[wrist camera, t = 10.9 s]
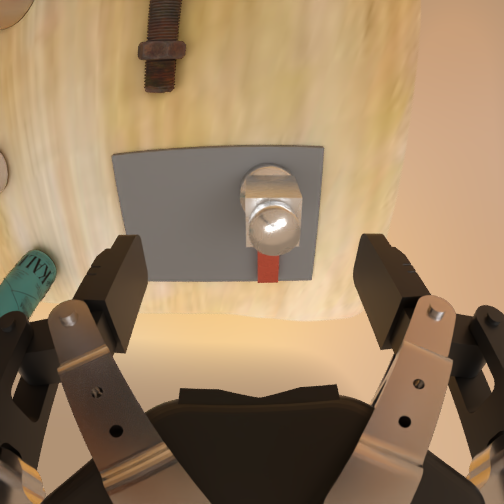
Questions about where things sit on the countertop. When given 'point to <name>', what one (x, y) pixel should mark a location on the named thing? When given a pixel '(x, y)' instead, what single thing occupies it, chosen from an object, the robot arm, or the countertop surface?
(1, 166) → the can
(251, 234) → the metal block with knob
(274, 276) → the ratchet
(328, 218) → the countertop surface
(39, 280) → the beverage bottle
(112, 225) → the countertop surface
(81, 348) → the robot arm
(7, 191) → the countertop surface
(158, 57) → the bolt
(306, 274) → the tool mat
